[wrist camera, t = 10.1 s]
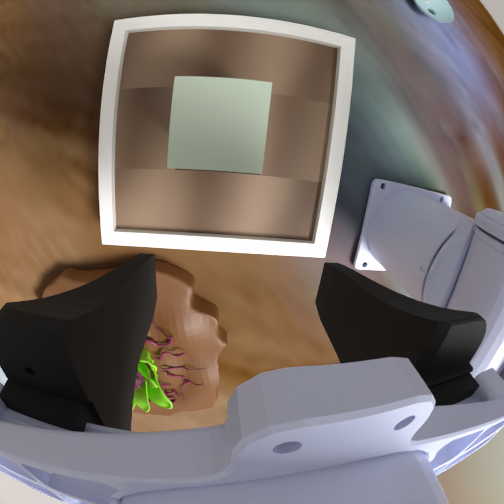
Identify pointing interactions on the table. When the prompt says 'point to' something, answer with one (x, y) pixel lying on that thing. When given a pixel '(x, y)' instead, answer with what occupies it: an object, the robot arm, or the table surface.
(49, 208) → the table surface
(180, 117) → the peg
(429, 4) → the pacifier
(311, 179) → the hole plate
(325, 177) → the tray
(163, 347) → the plant
